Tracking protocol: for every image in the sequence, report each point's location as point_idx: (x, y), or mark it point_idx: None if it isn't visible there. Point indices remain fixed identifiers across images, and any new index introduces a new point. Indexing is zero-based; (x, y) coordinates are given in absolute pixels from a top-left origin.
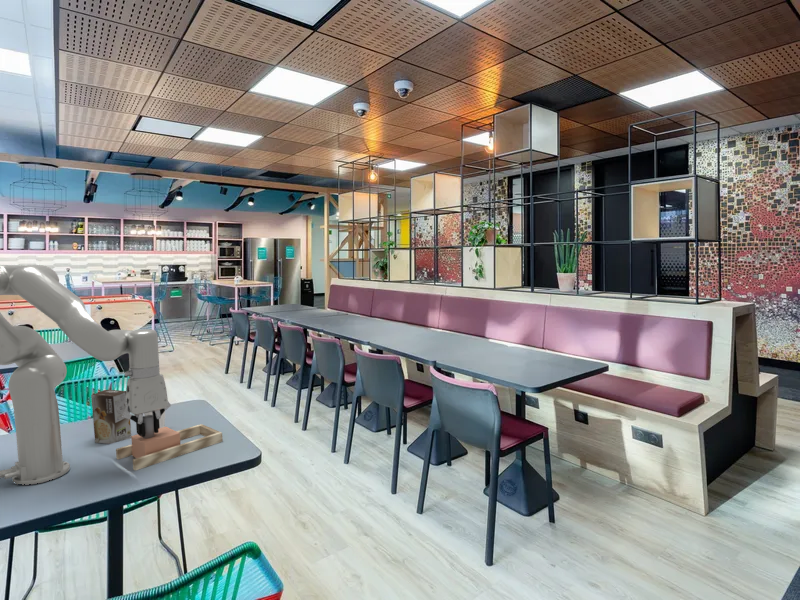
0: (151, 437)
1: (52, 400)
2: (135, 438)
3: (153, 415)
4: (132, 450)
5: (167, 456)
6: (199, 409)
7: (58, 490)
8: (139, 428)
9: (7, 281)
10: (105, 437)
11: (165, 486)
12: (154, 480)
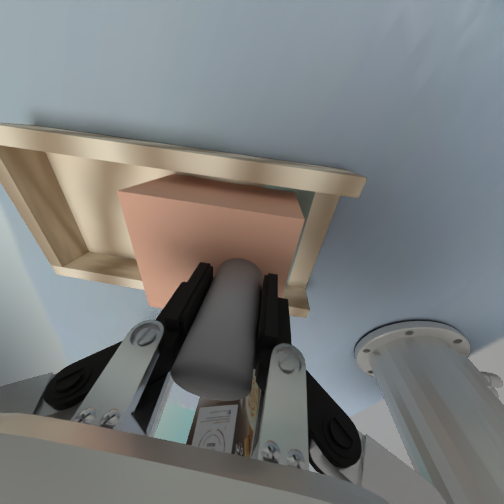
0: (239, 258)
1: None
2: None
3: (166, 372)
4: None
5: (228, 155)
6: (77, 353)
7: (488, 267)
8: (286, 321)
9: None
10: (253, 376)
11: None
12: (366, 17)
